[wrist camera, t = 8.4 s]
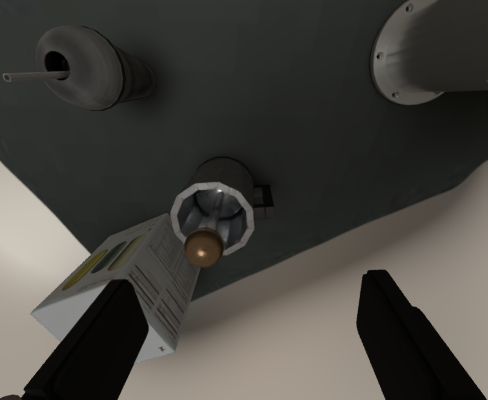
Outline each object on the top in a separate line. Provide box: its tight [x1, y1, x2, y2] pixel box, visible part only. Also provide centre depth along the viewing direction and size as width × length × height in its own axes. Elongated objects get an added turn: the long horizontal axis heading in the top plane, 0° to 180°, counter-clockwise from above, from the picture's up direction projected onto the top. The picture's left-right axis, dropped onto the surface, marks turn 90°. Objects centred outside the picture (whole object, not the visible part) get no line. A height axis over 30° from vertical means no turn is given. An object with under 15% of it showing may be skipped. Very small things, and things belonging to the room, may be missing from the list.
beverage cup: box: [3, 26, 156, 111], centre depth 24 cm, size 7×7×20 cm
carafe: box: [170, 157, 274, 255], centre depth 34 cm, size 13×10×12 cm
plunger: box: [184, 189, 242, 268], centre depth 29 cm, size 8×8×16 cm
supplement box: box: [30, 213, 201, 364], centre depth 37 cm, size 13×13×18 cm
